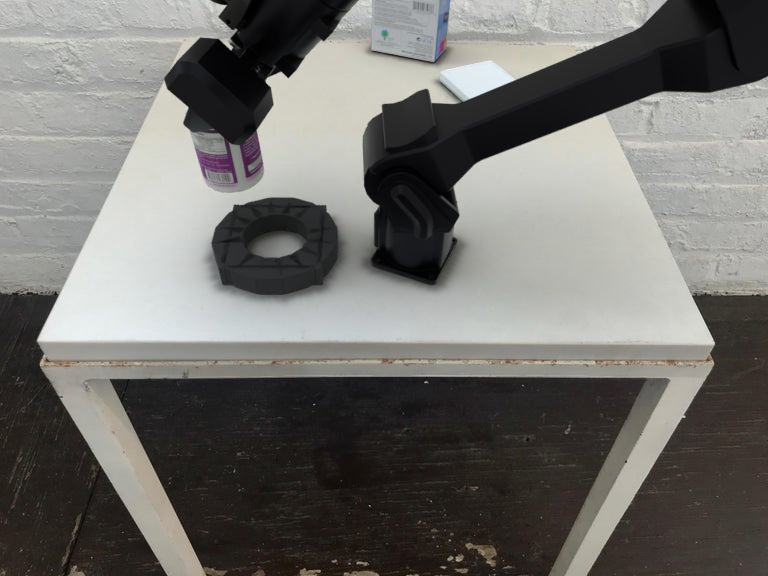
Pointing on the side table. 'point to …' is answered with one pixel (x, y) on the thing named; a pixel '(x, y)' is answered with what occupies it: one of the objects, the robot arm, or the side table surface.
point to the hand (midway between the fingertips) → (203, 109)
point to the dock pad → (275, 271)
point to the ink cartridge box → (410, 27)
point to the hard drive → (474, 79)
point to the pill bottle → (228, 161)
